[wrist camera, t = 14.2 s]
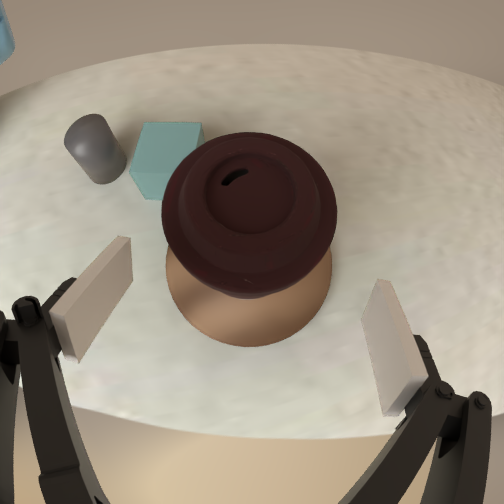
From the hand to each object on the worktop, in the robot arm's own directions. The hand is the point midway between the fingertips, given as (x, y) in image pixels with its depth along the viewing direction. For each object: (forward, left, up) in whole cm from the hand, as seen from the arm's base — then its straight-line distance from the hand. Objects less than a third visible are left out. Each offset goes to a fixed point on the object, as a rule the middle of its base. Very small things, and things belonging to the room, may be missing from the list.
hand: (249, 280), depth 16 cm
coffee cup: (-3, +3, -14) cm, 14 cm away
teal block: (-16, +4, -15) cm, 22 cm away
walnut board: (-3, +3, -15) cm, 15 cm away
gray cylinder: (-23, -1, -15) cm, 28 cm away
